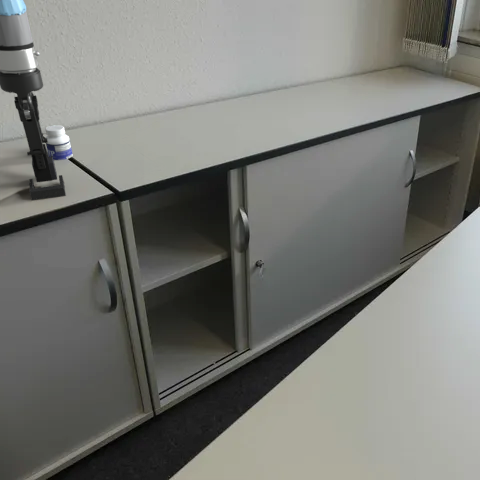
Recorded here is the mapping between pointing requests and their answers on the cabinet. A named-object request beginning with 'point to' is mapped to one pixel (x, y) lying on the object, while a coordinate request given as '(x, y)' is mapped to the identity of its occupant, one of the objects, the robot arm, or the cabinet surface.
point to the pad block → (52, 168)
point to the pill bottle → (58, 143)
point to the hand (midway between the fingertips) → (45, 176)
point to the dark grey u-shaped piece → (47, 190)
